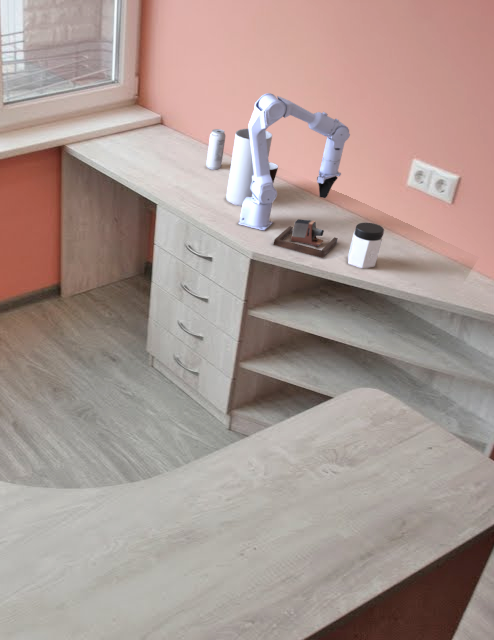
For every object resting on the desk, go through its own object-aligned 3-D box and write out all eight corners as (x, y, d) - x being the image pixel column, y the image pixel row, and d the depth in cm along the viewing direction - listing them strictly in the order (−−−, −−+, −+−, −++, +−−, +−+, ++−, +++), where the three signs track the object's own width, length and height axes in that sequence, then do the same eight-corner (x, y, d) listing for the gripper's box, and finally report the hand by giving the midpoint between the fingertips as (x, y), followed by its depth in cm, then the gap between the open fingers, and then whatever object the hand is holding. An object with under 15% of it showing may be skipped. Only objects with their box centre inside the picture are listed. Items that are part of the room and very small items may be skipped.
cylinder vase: (224, 205, 293) (234, 138, 279) (226, 192, 303) (236, 127, 289) (259, 208, 290) (272, 141, 276) (260, 195, 300) (272, 130, 286)
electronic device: (318, 248, 262) (323, 227, 258) (289, 241, 267) (293, 220, 263) (323, 243, 265) (327, 222, 261) (294, 236, 270) (298, 216, 266)
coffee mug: (276, 195, 300) (281, 169, 294) (253, 195, 300) (257, 169, 294) (268, 183, 310) (272, 158, 304) (245, 183, 310) (250, 158, 304)
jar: (355, 269, 249) (365, 234, 243) (341, 258, 256) (349, 223, 249) (381, 266, 251) (391, 231, 244) (365, 255, 258) (375, 220, 251)
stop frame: (273, 244, 265) (274, 239, 264) (288, 231, 274) (289, 225, 272) (322, 258, 256) (323, 252, 255) (336, 243, 265) (338, 238, 264)
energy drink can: (213, 163, 328) (218, 127, 320) (224, 168, 324) (229, 131, 316) (202, 166, 326) (207, 130, 317) (213, 171, 321) (218, 134, 313)
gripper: (336, 167, 260) (327, 206, 267) (351, 155, 269) (342, 193, 277) (314, 163, 263) (306, 201, 271) (330, 150, 273) (321, 188, 280)
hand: (323, 197), depth 274 cm, fingers closed
